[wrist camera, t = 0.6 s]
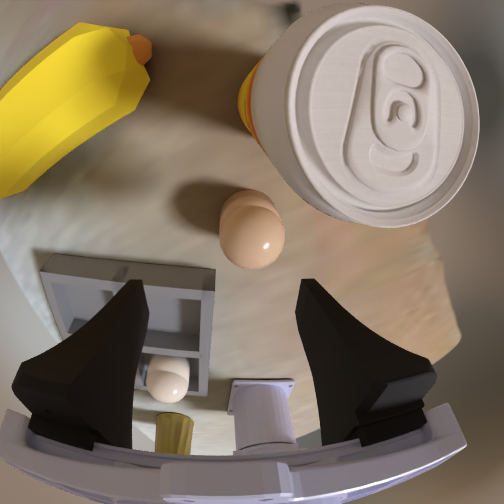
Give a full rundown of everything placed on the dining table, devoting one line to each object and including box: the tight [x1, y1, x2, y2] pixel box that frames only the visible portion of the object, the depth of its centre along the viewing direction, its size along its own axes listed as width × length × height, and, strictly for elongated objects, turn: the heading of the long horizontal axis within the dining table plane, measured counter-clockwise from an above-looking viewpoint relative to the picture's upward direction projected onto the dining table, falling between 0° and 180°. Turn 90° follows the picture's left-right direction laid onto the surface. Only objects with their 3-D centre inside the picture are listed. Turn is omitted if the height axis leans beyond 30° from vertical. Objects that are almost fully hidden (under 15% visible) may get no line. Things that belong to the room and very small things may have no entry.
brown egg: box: [219, 190, 285, 269], centre depth 20 cm, size 4×4×6 cm
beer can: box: [238, 2, 479, 228], centre depth 11 cm, size 6×6×15 cm
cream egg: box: [146, 354, 190, 403], centre depth 26 cm, size 4×4×6 cm
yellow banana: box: [0, 22, 152, 199], centre depth 13 cm, size 18×7×8 cm
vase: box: [155, 413, 194, 455], centre depth 32 cm, size 6×6×14 cm
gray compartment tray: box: [39, 254, 216, 397], centre depth 26 cm, size 16×16×3 cm
